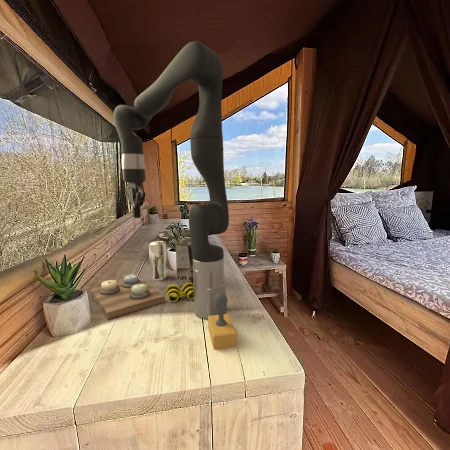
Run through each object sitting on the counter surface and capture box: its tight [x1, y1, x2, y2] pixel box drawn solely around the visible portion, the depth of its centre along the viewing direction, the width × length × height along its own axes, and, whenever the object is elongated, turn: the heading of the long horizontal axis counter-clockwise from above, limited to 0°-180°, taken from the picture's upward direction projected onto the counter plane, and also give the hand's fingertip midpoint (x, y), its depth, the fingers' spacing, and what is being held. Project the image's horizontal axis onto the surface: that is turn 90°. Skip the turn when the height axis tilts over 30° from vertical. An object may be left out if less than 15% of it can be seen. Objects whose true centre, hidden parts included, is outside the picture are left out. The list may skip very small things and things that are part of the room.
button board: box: [90, 277, 165, 320], centre depth 94 cm, size 22×18×3 cm
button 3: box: [123, 273, 139, 284], centre depth 100 cm, size 5×5×2 cm
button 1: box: [100, 279, 118, 291], centre depth 95 cm, size 5×5×2 cm
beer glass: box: [148, 240, 168, 282], centre depth 111 cm, size 7×7×15 cm
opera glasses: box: [166, 283, 194, 303], centre depth 93 cm, size 10×5×5 cm, turn 108°
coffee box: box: [175, 240, 194, 287], centre depth 106 cm, size 9×6×16 cm
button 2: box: [131, 284, 147, 295], centre depth 91 cm, size 5×5×2 cm
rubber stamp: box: [207, 293, 238, 350], centre depth 70 cm, size 10×6×12 cm, turn 11°
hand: (137, 217), depth 97 cm, fingers closed
